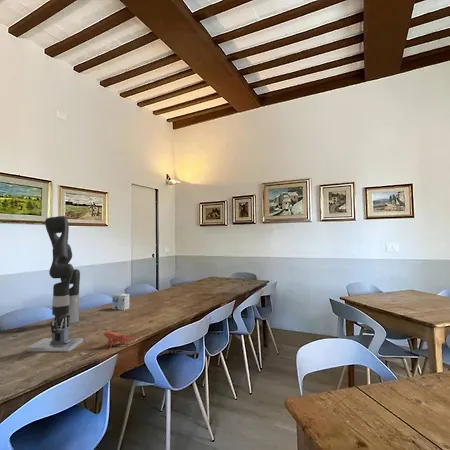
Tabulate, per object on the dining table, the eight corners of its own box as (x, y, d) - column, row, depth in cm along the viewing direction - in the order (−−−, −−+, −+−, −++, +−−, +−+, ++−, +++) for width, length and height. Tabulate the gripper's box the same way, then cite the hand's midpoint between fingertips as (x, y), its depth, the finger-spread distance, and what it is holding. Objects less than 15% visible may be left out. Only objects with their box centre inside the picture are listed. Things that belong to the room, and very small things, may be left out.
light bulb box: (111, 309, 234) (112, 294, 234) (117, 307, 241) (117, 293, 241) (124, 310, 231) (124, 295, 232) (129, 308, 238) (129, 293, 238)
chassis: (44, 341, 161) (44, 337, 161) (82, 341, 161) (82, 338, 161) (26, 351, 147) (26, 347, 147) (69, 351, 147) (69, 347, 147)
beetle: (102, 350, 149) (102, 323, 149) (104, 342, 161) (105, 317, 161) (134, 348, 153) (135, 321, 153) (135, 340, 165) (135, 315, 165)
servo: (53, 344, 156) (54, 328, 157) (70, 344, 156) (71, 328, 157) (49, 347, 152) (49, 330, 153) (66, 347, 152) (67, 330, 153)
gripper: (61, 301, 162) (60, 334, 161) (45, 307, 148) (44, 344, 147) (75, 301, 162) (74, 334, 161) (60, 307, 148) (60, 344, 147)
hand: (60, 339), depth 154 cm, fingers open, 4 cm apart
